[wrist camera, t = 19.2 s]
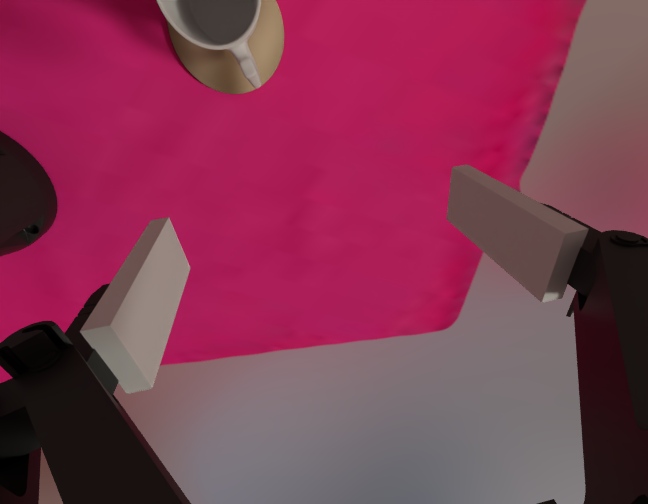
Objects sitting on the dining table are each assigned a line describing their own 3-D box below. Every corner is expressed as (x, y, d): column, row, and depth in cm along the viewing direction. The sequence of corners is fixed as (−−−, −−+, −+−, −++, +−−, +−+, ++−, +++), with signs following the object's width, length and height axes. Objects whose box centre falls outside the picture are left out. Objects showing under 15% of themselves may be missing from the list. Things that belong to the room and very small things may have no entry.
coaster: (188, 98, 34) (187, 98, 34) (150, -39, 28) (148, -41, 28) (290, 88, 35) (290, 88, 35) (274, -45, 29) (275, -47, 29)
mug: (169, -19, 29) (123, -57, 19) (236, -54, 28) (225, -112, 18) (229, 95, 34) (218, 113, 24) (286, 67, 34) (299, 73, 24)
